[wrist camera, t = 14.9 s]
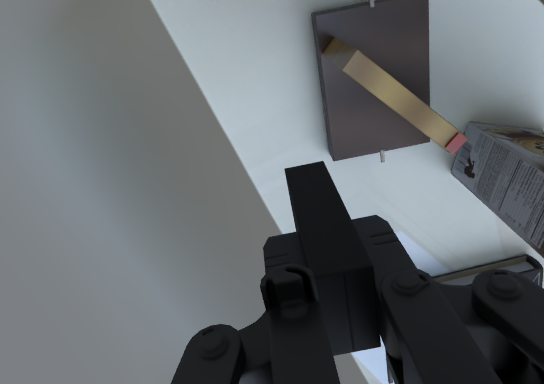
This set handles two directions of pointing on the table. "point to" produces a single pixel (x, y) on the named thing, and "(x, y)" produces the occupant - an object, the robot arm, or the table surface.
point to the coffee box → (506, 176)
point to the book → (518, 264)
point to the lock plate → (386, 54)
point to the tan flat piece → (394, 95)
